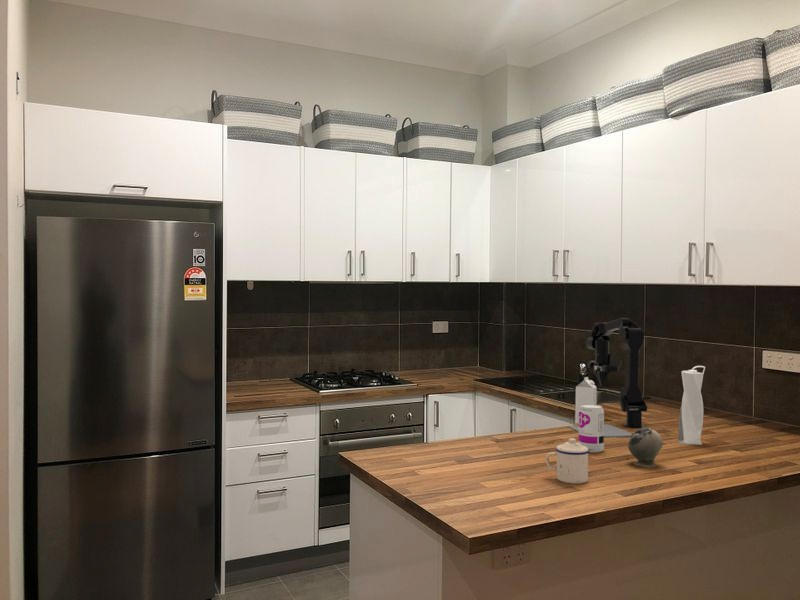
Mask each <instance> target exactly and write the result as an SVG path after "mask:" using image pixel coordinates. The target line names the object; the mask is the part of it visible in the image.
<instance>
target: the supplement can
mask: <svg viewBox="0 0 800 600" xmlns="http://www.w3.org/2000/svg"><path fill="white" fill-rule="evenodd" d="M578 425H579V432H578V443H579V444H581V445H582V446H585V447H587V448H588V450H589V452H588V453H593V454H595V453H596V454H597V453H602V452H603V451H604V450H605V437H604V425H605V411H604V408H603V406H601V405H597V404H596V405H581V407H580V409H579V423H578Z"/></svg>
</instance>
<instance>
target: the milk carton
mask: <svg viewBox="0 0 800 600" xmlns="http://www.w3.org/2000/svg"><path fill="white" fill-rule="evenodd" d="M595 384H596V383H595V382H594V380H592V379H589V376H586V377H584V379H583V381H581V382H580V383H579V384H577V385H576V386H575V411H574V412H575V415H574V417H575V418H574V421H575V424H579V409H580V407H581V405H597V386H596V385H595Z"/></svg>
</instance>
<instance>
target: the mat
mask: <svg viewBox="0 0 800 600" xmlns="http://www.w3.org/2000/svg"><path fill="white" fill-rule="evenodd" d="M574 426H575V425H567V428H569V427H571V428H572V430H573V429H574V430H573V431H575V430H576V432H578V433H579V427H574ZM576 426H579V424H578V425H576ZM571 428H570V429H571ZM632 434H633V432H629V431H627V430H624V429H621V428H619V427H617V426H614V425H611V424H609V425H608V424H604V438H621V437H622V438H625V437H631V435H632Z"/></svg>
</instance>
